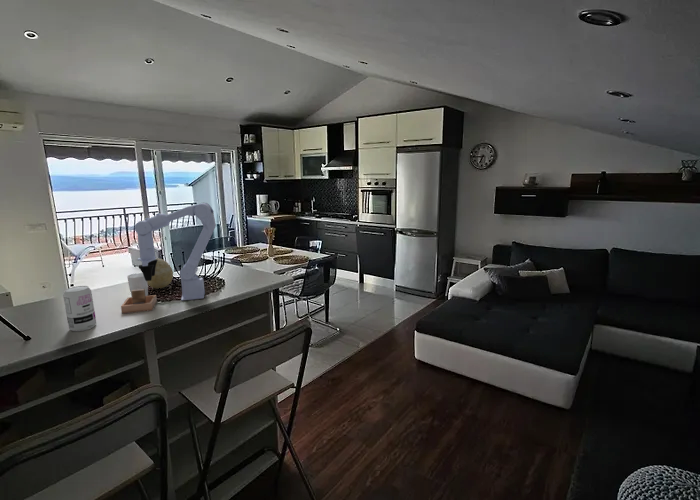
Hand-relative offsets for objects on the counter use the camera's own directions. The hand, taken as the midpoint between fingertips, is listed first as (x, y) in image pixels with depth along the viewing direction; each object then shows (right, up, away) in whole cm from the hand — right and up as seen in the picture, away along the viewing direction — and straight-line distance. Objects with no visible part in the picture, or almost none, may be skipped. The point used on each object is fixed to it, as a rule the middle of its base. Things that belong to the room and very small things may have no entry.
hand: (150, 278), depth 158 cm
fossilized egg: (-6, -7, +20) cm, 22 cm away
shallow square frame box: (-1, -12, -6) cm, 14 cm away
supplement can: (-10, -16, -26) cm, 32 cm away
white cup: (-9, -9, +8) cm, 16 cm away
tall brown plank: (-1, -11, -7) cm, 13 cm away
